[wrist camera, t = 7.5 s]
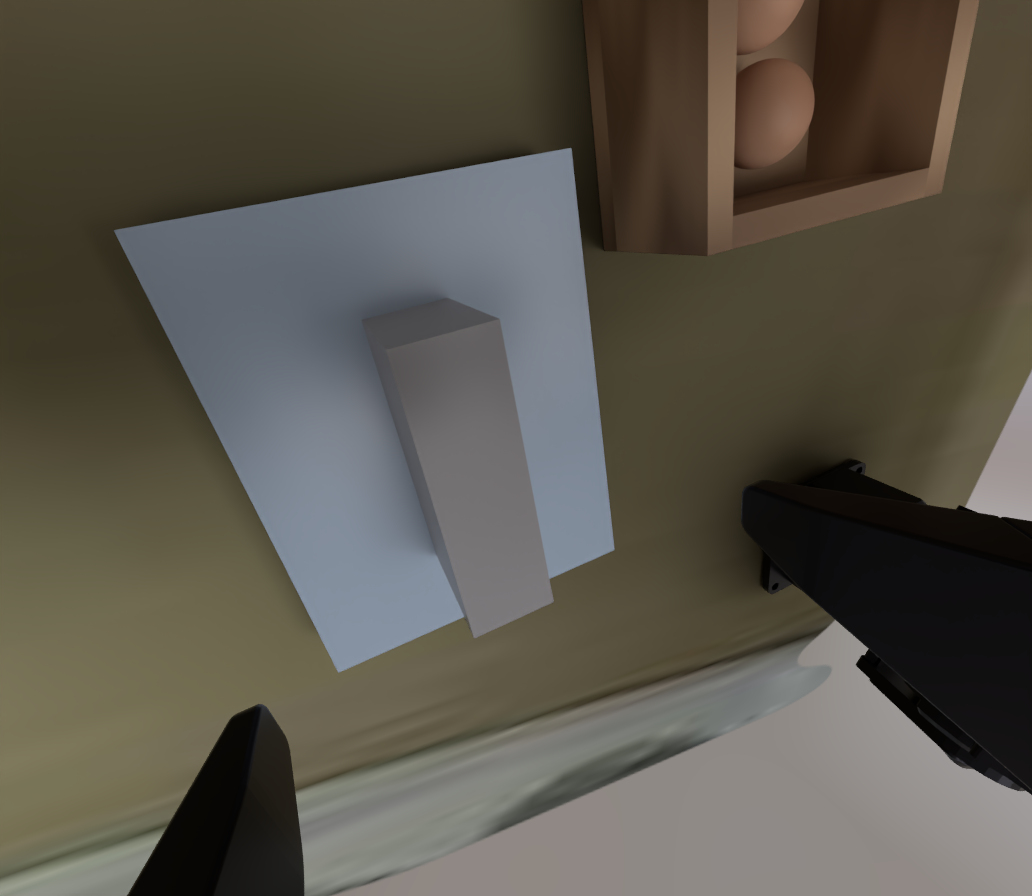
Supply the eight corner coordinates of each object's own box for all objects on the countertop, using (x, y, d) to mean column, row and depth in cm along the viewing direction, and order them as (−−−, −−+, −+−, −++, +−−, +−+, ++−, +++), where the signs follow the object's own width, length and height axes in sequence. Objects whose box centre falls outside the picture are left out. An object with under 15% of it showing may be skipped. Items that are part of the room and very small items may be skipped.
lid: (589, 525, 21) (681, 614, 16) (334, 632, 18) (350, 783, 13) (540, 157, 15) (666, 118, 10) (138, 230, 12) (26, 228, 7)
